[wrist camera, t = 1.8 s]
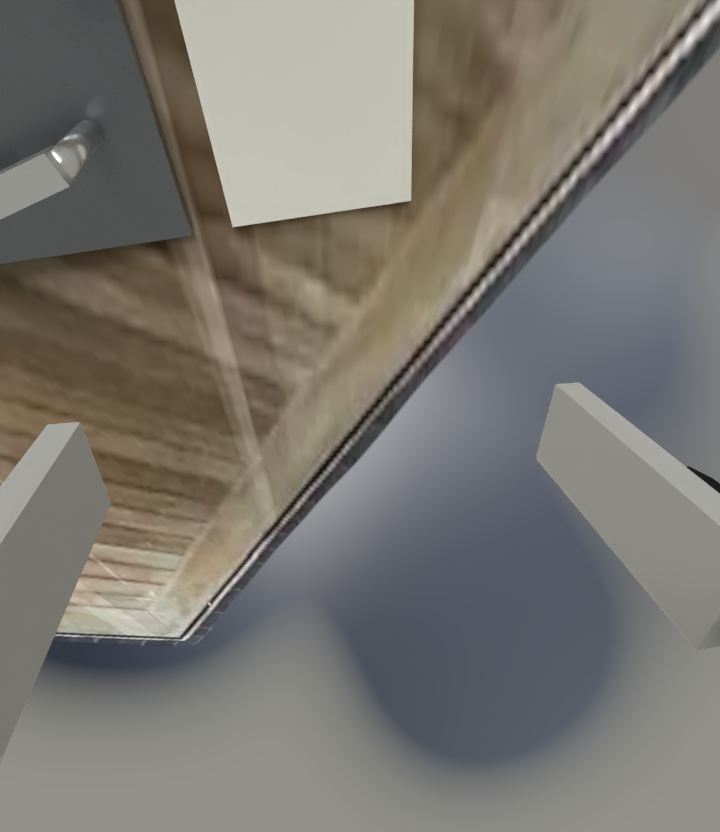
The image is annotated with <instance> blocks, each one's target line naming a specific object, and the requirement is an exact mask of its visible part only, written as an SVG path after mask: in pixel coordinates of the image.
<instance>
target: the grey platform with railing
mask: <svg viewBox="0 0 720 832" xmlns="http://www.w3.org/2000/svg"><path fill="white" fill-rule="evenodd" d="M192 231H193V227H192V224H191V221H190V218H189V215H188V212H187V208H186V205H185V202H184V199H183V196H182V193H181V190H180V186H179V183H178V180H177V177H176V174H175V171H174V168H173V164H172V161H171V158H170V155H169V152H168V149H167V146H166V142H165V139H164V136H163V133H162V130H161V127H160V124H159V120H158V117H157V114H156V111H155V108H154V105H153V102H152V98H151V95H150V92H149V89H148V86H147V83H146V80H145V76H144V73H143V70H142V67H141V64H140V61H139V58H138V54H137V51H136V48H135V45H134V42H133V39H132V36H131V32H130V29H129V26H128V23H127V20H126V17H125V14H124V10H123V7H122V4H121V1H120V0H0V264H6V263H13V262H20V261H26V260H33V259H40V258H46V257H53V256H60V255H67V254H73V253H80V252H87V251H93V250H100V249H107V248H114V247H120V246H127V245H134V244H140V243H147V242H154V241H161V240H167V239H174V238H181V237H187V236H192Z"/></svg>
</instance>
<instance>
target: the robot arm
mask: <svg viewBox="0 0 720 832" xmlns="http://www.w3.org/2000/svg"><path fill="white" fill-rule="evenodd" d="M536 459H537V460H538V462H539V463H540V464H541V465H542V466H543V468H544V469H545V470H546V471H547V472H548V474H549V475H550V476H551V477H552V478H553V479H554V481H555V482H556V483H557V484H558V486H559V487H560V488H561V489H562V490H563V492H564V493H565V494H566V495H567V496H568V497H569V499H570V500H571V501H572V502H573V504H574V505H575V506H576V507H577V508H578V510H579V511H580V512H581V513H582V514H583V516H584V517H585V518H586V519H587V520H588V522H589V523H590V524H591V525H592V526H593V528H594V529H595V530H596V531H597V532H598V534H599V535H600V536H601V537H602V539H603V540H604V541H605V542H606V543H607V544H608V546H609V547H610V548H611V549H612V551H613V552H614V553H615V554H616V555H617V556H618V558H619V559H620V560H621V561H622V562H623V564H624V565H625V566H626V567H627V569H628V570H629V571H630V572H631V573H632V575H633V576H634V577H635V578H636V579H637V581H638V582H639V583H640V584H641V585H642V587H643V588H644V589H645V590H646V591H647V593H648V594H649V595H650V596H651V597H652V599H653V600H654V601H655V602H656V603H657V604H658V606H659V607H660V608H661V609H662V611H663V612H664V613H665V614H666V615H667V617H668V618H669V619H670V620H671V621H672V623H673V624H674V625H675V626H676V627H677V629H678V630H679V631H680V632H681V633H682V635H683V636H684V637H685V638H686V639H687V641H688V642H689V643H690V644H691V645H692V647H693V648H694V649H695V650H701V649H706V648H711V647H716V646H720V484H719V483H718V482H717V481H715V480H714V479H713V478H711V477H708V476H707V475H705V474H703V473H700V472H699V471H697V470H695V469H693V468H691V467H689V466H688V467H685V466H684V465H683V464H681V463H680V462H679V461H678V460H677V459H675V458H674V457H673V456H671V455H670V454H669V453H668V452H666V451H665V450H664V449H663V448H661V447H660V446H659V445H658V444H656V443H655V442H654V441H652V440H651V439H650V438H649V437H647V436H646V435H645V434H644V433H642V432H641V431H640V430H638V429H637V428H636V427H635V426H634V425H632V424H631V423H630V422H628V421H627V420H626V419H625V418H623V417H622V416H621V415H620V414H618V413H617V412H616V411H615V410H613V409H612V408H611V407H610V406H608V405H607V404H606V403H604V402H603V401H602V400H601V399H599V398H598V397H597V396H595V395H594V394H593V393H592V392H591V391H589V390H588V389H587V388H585V387H584V386H583V385H582V384H580V383H566V384H556V385H555V388H554V392H553V396H552V400H551V404H550V408H549V411H548V415H547V419H546V422H545V426H544V430H543V434H542V437H541V441H540V445H539V449H538V452H537V456H536ZM110 504H111V502H110V499H109V497H108V494H107V491H106V489H105V486H104V483H103V481H102V478H101V476H100V473H99V470H98V468H97V465H96V462H95V460H94V457H93V454H92V452H91V449H90V446H89V444H88V441H87V438H86V436H85V433H84V430H83V428H82V425H81V422H74V423H62V424H49V425H47V426H46V427H45V429H44V430H43V431H42V433H41V434H40V435H39V436H38V438H37V439H36V440H35V442H34V443H33V444H32V446H31V447H30V448H29V450H28V451H27V452H26V454H25V455H24V456H23V457H22V459H21V460H20V461H19V463H18V464H17V465H16V467H15V468H14V469H13V471H12V472H11V473H10V474H9V476H8V477H7V478H6V480H5V481H4V482H3V484H2V485H1V486H0V762H1V760H2V757H3V755H4V753H5V750H6V748H7V745H8V743H9V741H10V739H11V736H12V734H13V732H14V729H15V727H16V725H17V722H18V720H19V718H20V715H21V713H22V710H23V708H24V706H25V703H26V701H27V699H28V697H29V694H30V692H31V689H32V687H33V685H34V683H35V680H36V678H37V675H38V673H39V671H40V668H41V666H42V664H43V661H44V659H45V656H46V654H47V652H48V650H49V647H50V645H51V643H52V640H53V638H54V636H55V633H56V631H57V629H58V626H59V624H60V622H61V619H62V617H63V615H64V612H65V610H66V607H67V605H68V603H69V600H70V598H71V596H72V593H73V591H74V589H75V586H76V584H77V582H78V579H79V577H80V575H81V572H82V570H83V568H84V565H85V563H86V561H87V558H88V556H89V554H90V551H91V549H92V547H93V544H94V542H95V540H96V537H97V535H98V532H99V530H100V528H101V525H102V523H103V521H104V518H105V516H106V514H107V511H108V509H109V507H110Z"/></svg>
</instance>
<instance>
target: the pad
mask: <svg viewBox="0 0 720 832" xmlns="http://www.w3.org/2000/svg"><path fill="white" fill-rule="evenodd" d="M174 1H175V5H176V9H177V12H178V16H179V20H180V24H181V28H182V32H183V36H184V40H185V44H186V48H187V51H188V55H189V59H190V63H191V67H192V71H193V75H194V79H195V83H196V86H197V90H198V94H199V98H200V102H201V106H202V110H203V114H204V118H205V121H206V125H207V129H208V133H209V137H210V141H211V145H212V149H213V153H214V156H215V160H216V164H217V168H218V172H219V176H220V180H221V184H222V188H223V192H224V195H225V199H226V203H227V207H228V211H229V215H230V219H231V223H232V227H238V226H245V225H251V224H258V223H265V222H272V221H278V220H285V219H292V218H299V217H305V216H312V215H319V214H325V213H332V212H339V211H346V210H352V209H359V208H366V207H373V206H379V205H386V204H393V203H400V202H406V201H411V170H412V102H413V33H414V0H174Z"/></svg>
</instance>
